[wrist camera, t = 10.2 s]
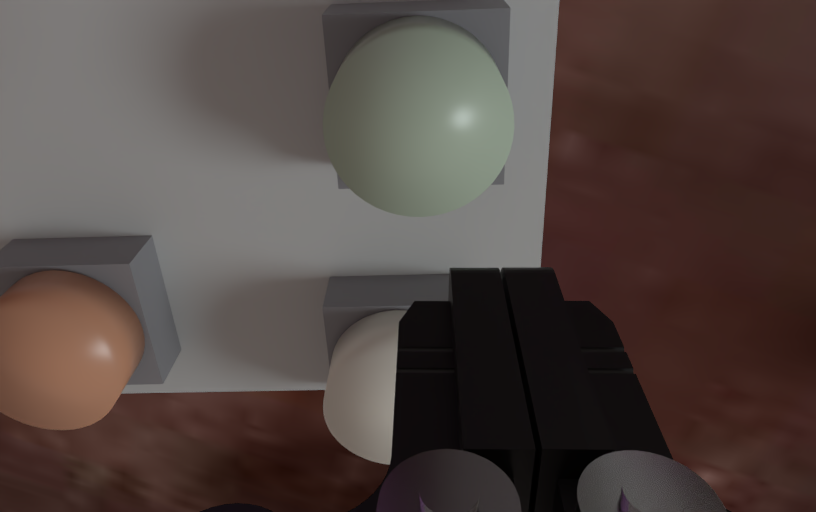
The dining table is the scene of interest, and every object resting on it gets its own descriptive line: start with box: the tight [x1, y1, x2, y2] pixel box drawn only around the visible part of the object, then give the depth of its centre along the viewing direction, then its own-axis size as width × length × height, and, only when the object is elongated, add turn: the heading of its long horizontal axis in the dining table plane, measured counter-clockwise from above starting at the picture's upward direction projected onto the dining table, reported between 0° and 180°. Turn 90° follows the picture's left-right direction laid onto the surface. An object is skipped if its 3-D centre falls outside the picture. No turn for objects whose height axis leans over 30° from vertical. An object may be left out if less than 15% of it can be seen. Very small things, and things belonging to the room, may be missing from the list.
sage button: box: [323, 16, 514, 217], centre depth 20 cm, size 5×5×5 cm
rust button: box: [0, 270, 145, 430], centre depth 24 cm, size 5×5×5 cm
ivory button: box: [323, 310, 407, 465], centre depth 24 cm, size 5×5×5 cm
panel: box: [0, 0, 559, 393], centre depth 23 cm, size 18×22×3 cm
